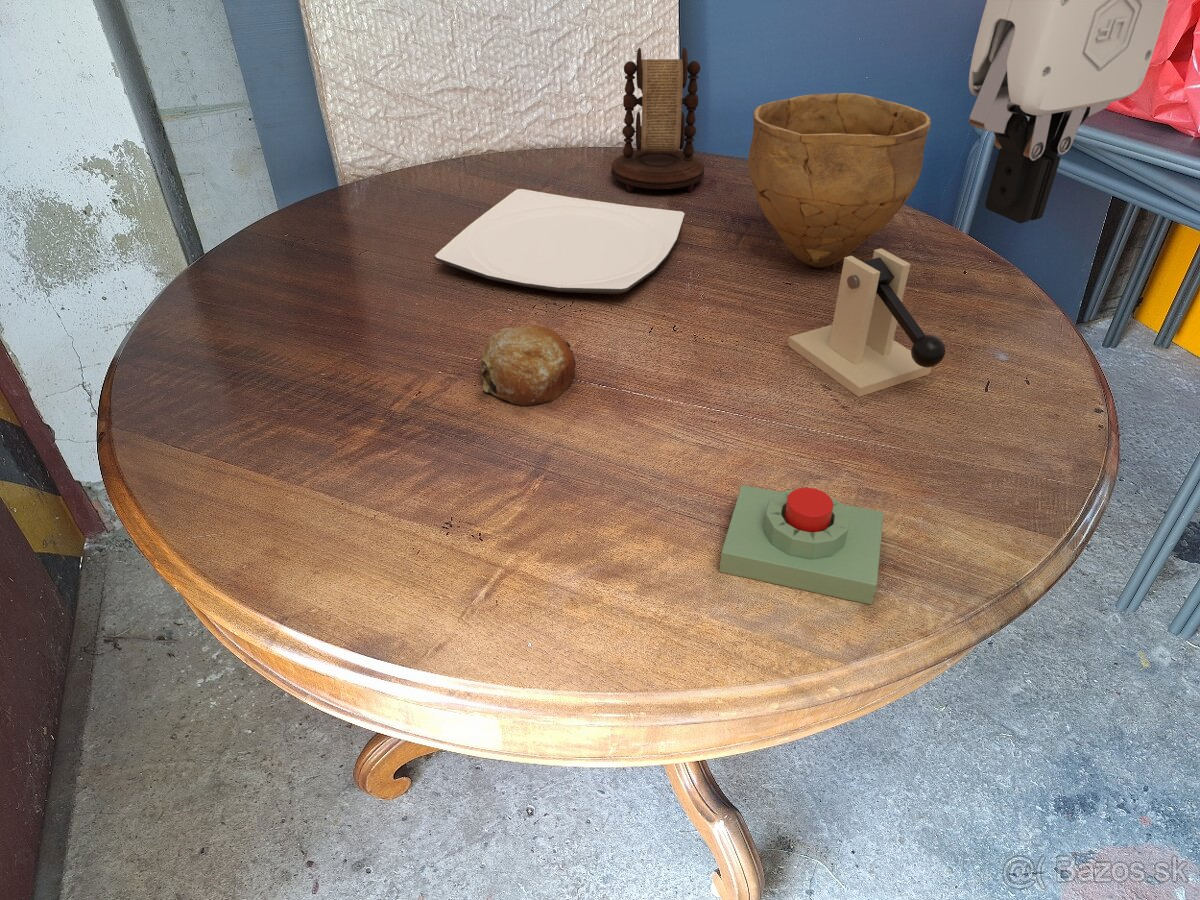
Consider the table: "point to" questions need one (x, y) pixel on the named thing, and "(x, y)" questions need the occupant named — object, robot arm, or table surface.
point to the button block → (803, 547)
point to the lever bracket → (862, 332)
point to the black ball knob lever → (907, 320)
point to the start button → (808, 510)
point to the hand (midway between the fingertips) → (1012, 213)
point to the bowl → (834, 169)
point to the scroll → (659, 125)
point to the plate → (564, 243)
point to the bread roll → (527, 365)
